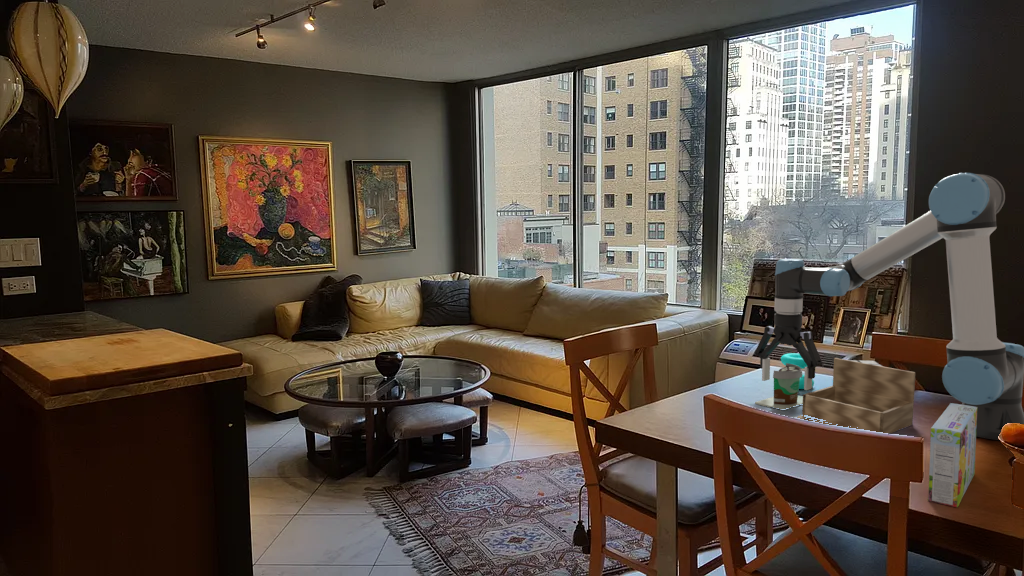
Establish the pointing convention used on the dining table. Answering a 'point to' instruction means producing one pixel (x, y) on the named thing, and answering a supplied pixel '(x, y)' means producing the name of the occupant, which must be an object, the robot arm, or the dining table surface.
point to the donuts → (796, 360)
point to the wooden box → (864, 398)
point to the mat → (770, 403)
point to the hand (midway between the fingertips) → (786, 384)
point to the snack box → (952, 454)
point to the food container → (787, 384)
